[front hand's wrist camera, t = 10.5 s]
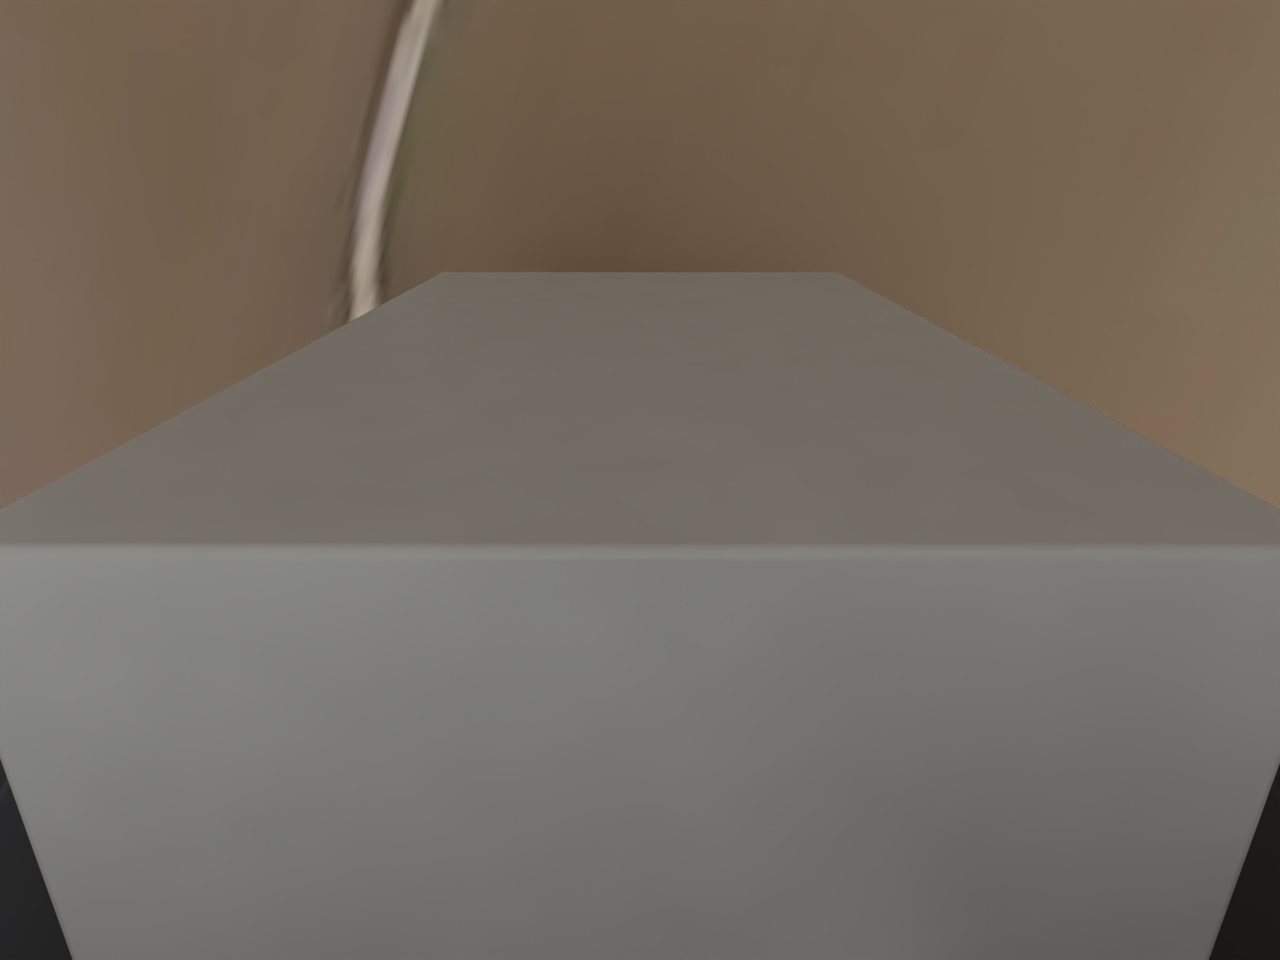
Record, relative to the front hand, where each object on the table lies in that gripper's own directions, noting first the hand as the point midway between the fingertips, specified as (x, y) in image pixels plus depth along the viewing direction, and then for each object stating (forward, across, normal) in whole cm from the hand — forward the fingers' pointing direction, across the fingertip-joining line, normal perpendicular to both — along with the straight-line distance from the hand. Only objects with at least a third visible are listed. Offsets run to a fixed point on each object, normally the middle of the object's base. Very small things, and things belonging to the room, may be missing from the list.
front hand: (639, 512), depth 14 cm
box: (0, 0, -8) cm, 8 cm away
